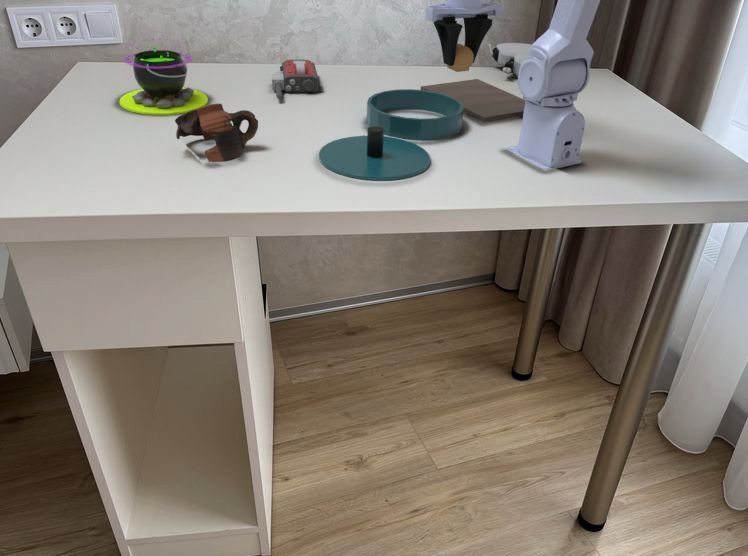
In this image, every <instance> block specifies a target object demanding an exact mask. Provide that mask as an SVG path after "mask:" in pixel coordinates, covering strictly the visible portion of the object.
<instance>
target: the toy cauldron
mask: <svg viewBox="0 0 748 556" xmlns="http://www.w3.org/2000/svg"><path fill="white" fill-rule="evenodd" d="M154 32H155V33H158V31H151V33H154ZM160 32H161V33H163V32H162V31H160ZM145 34H146V32H143V33H142V36H145V37H146V39H144V40H143V39H141V42H144V41H149V36H146V35H145ZM166 35H167V32H164V35H162V36H160V38H159V36H156V38H153V36H150V38H152V39H151V41H153V40H157V41H158V40H159V41H160V40H161V41H163V40H164V41H167V39H164V38H163V37H165V36H166ZM157 38H158V39H157ZM161 38H162V39H161ZM169 41H170V42H174V43H177V44H178V45H177V46H176V47H172V48H170V49H169V48H168V49H157V47H156V46H153V47H152V49H149V50H144V49H143V48H141V51H140V52H135V53H130V54H128V55H127V56H124V57H123V58H122V61H123V63H124V64H127V65H128V66H131V67H132V68H133V74H134V79H135V81H136V83H137V84H138V87H139V88H140V89H137V90H133V91H130V92H128V93H126V94H124V95H122V96H121V97H119V98H120V99H119V105H120V107H121V108H122V109H124V110H126V111H128V112H131V113H136V114H142V115H149V116H171V115H180V114H181V115H182V114H184V113H187V112H189V111H191V110H194V109H197V108H200V107H204V106H207V105H208V102H209V99H208V96H207V94H205V93H203V92H201V91H199V90H196V89H192V88H190V87H185V83H186V79H187V75H188V64H189V63H191V62H193V60H194V58H193V57H192V56H191V55H190V54H187V53H183V52H180V51H173V50H175V49H178V48H179V47H181V43H180V42H179V41H175V40H173V39H170V40H169ZM136 43H137V41H135V42H132V45H131V47H132V48H133V49H137V50H140V48H137V47H135V44H136ZM182 57H184V58H185V60H184V59H183V58H182ZM132 58H133V61H132Z"/></svg>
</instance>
